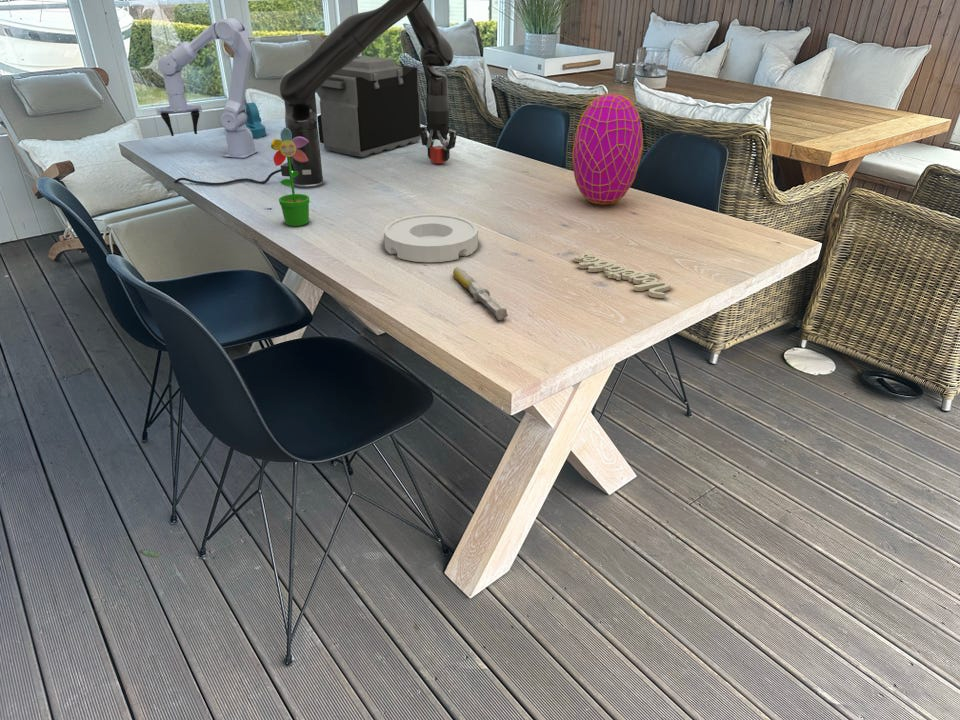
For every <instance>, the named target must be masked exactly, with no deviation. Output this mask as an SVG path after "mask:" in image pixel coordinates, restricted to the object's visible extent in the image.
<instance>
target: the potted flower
mask: <svg viewBox="0 0 960 720" xmlns="http://www.w3.org/2000/svg"><path fill="white" fill-rule="evenodd" d="M307 143H309V141H308V140H307V139H305V138H304V137H300V136H299V137H295V138H293V139H292V134H291V131H290V130H289V129H288V128H286V127H284V128H283V129H282V130H281V131H280V139H279V138H273V139H272V141H271V145H270V148H271V149H272V150H274V151H275V153H274V155H273V163H274V165H275V167H277V166H281V165H283V164H284V163H285V161H286V160H287V158H288V161H287V162H288V165H289V173H290V176H289V178H284V179H282V180H281V181H280V184H281V185H282V186H285V187H291V193H290V194H286V195H282V196H280V197H279V198H278V202H279V205H280V207H281V210H282V215H283V219H284V223H285V225H287V226H290V227H291V226H292V227H301V226H304V225H306V224H309V222H310V206H309V205H310V196H309V195H307V194H303V193H296V192H295V191H296V190H295V186H294V183H293V178H294V177H296V176H297V175H298V174H299V172H297V171H294V172H292V168H291V160H290V157H292V158H293V159H295V160H296V161H298V162H307V161H308V158H307V156H306V155H305V153H304V152H302V151H301V150H299V149H297V148H301V147H303V146H305V145H306V144H307Z"/></svg>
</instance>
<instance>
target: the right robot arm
mask: <svg viewBox="0 0 960 720" xmlns="http://www.w3.org/2000/svg"><path fill="white" fill-rule="evenodd" d="M424 1H425V0H387V1H386V2H385V3H384V4H382V5H380V6H379V7H377V8H375V9H371V10H368V11H362V12H358V13H354V14H351V15H349V16H347V17H346V18H345V19H344V20H342V21H341V22H340V23H339V24H338V25H337V26H336V27H335V28H334V29H333V30H332V31H331V32H330V33H329V34H328V35H327V36H326V37H325V38H324V39H323V41H322V42H321V43H320V44H319V46H318V47H317V48H316V49H315V50H314V52H313V53H312V54H311V55H309V57H308V58H306V59H305V60H304V61H303V62H302V63H300V64H299V65H297V66H296V67H295V68H291V69H289V70H287V71H286V72H285V73H284V74H283V75H282V77H281V78H280V81H279V85H278V88H279V89H278V90H279V94H280V96H281V98H282V100H283V101H284V123H285V128H288V129H289V130H290V131H291V134H292V139H293V138H295V137H299V136H300V137H304V138H305V139H307V140H308V141H309V143H307V144H306V145H305V146H303V147H301V148H297V149H299V150H301V151H302V152H304V153H305V155H306V156H307V158H308V161H307V162H298V161H296V160H295V159H293V158H292V157H290V160H291V168H292V172H294V171H297V172H299V174H298V175H297V176H296V177H294V178H293V183H294V187H296V188H300V189H301V188H303V189H310V188H317V187H320V186H322V185H324V184H325V182H324V175H323V167H322V157H321V147H320V139H319V130H318V120H317V117H318V109H317V100H316V99H317V98H316V90H317V89H318V88H319V87H320V86H321V85H322V84H323V83H324V82H325V81H326V80H327V79H328V78H329V77H330V76H332V75H333V74H335V73H336V72H337V71H339V70H340V69H342V68H343V67H345V66H346V65H347V64H349V63H350V62H351V61H352V60H354V59H355V58H356V57H357V56H361V54H362V53H363V52H364V51H365V50H366V49H368V48H369V47H370V46H371V44H373V43H374V42H375V41H376V40H378V38H380V37H381V36H382V35H383V34H384V33H386V32H387V31H388V30H389V29H390V28H392V27H393V26H394V25H395V24H397V23H398V22H400V21H401V20H403V19H404V18H405V17H406V16H407V20H408V23H409V24H410V26H411V29H412V31H413V34H414V36H415V37H416V41H417V42H418V44H419V45H420V49H419V58H420V62H421V65H422V68H423V72H424V76H425V83H426V99H425V103H426V104H425V107H426V110H425V111H426V123H427V124H426V125H424V126H421V127H420V128H419V130H420V136H421V138H420V141H421V145H422V146H425V147H426V149H427V157H428V159H429V160H431V159H430V147H433V146H434V144H435V142H436V140H437V141H439V143H440V144H441V146H443V148H444V150H443V160H444V161H447V162H448V161H449V160H450V159H451V158H450V157H451V155H450V152H451V151H450V150H452V149H454V148H455V147H456V142H457V136H458V131H457V129H456V130H454V129H453V130H452V129H451V128H450V126H449V124H450V102H449V101H450V99H449V80H448V79H449V78H448V76H447V75H445V74H444V73H440V72H438V71H437V70H436V68H435V67H442V68H445V67H449V66H451V64H452V63H453V61H454V50H453V47H452V45H451V44H450V42H449V41H448V40H447V38H446V37H445V36H444V35H443V34H441V33H440V31H439V27H438V26H437V23H436V21H435V19H434V18H433V16H432V13H431V12H430V10H429V8H428V7H427V5H426V3H425V2H424ZM286 161H287V162H284V163H282V164H281V165H280V169H277V170H274V171H273V172H270V173H269V174H268V176H267V177H266V179H265V180H261V181H259V180H256V179H254V178H248V177H247V178H237V179H232V180H228V181H222V182H221V181H220V182H209V181H199V180H195V179H190V178H187V177H178V178H176V179H175V180H174V181H173V183H174V184H178V182H180V181H185V182H189V183H192V184H197V185H205V186H225V185H230V184H233V183H239V182H250V183H251V182H252V183H255V184H259V185H260V184H261V185H263V184H266V183H268V182H269V181H270V179H271V178H272V177H273V176H274V175H276V174H277V173H281V176H282V177H288V178H290V173H289V165H288V158H287V157H286Z"/></svg>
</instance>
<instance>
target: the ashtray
mask: <svg viewBox="0 0 960 720" xmlns="http://www.w3.org/2000/svg"><path fill="white" fill-rule="evenodd" d="M383 238H384V239H383V240H384V249H385V251H386V252H387V253H388V254H390V255H396V256H397V258H398V259H401V260H403V261H410V262H415V263H416V262H417V263H443V262H450V261H455V260H459V257H461V256H464V257H468V256H470V255H472V254H473V253H474V252H475V251H477V249H478V246H479V227H478V225H477V224H475V222H473V221H471V220H469V219H468V218H465V217H461V216H459V215H457V216H456V215H451V214H446V213H445V214H443V213H421V214H420V213H419V214H413V215H407V216H403V217H399V218H397V219H394V220H392V221H391V222H388V223H387V224H386V225H385V226H384V228H383Z"/></svg>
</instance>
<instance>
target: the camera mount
mask: <svg viewBox="0 0 960 720" xmlns="http://www.w3.org/2000/svg"><path fill="white" fill-rule="evenodd" d="M244 103H245V102H244ZM245 105H246V114H247V122H246V123H245V125H246V127H247V128H248V129H250V131H251V132H252V135H253V139H258V138H262V137H266V136H267V132H266V126H265V125H263V124H262V121H261V116H260V111H259V108H258V106H257V104H256V102H246V103H245Z"/></svg>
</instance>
